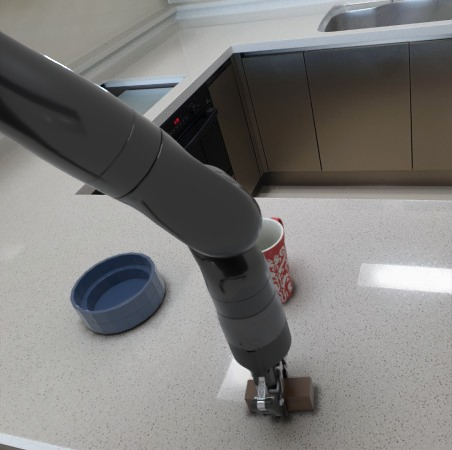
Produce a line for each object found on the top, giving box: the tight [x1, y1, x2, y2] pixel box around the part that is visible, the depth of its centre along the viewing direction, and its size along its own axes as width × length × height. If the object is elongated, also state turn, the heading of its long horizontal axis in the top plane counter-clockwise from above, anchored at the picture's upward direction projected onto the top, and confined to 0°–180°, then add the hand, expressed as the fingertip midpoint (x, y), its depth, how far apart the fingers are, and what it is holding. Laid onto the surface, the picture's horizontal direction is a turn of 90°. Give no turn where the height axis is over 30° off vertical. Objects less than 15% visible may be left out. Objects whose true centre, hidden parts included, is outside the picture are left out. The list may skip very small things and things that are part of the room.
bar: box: [244, 376, 315, 413], centre depth 64 cm, size 9×3×3 cm, turn 86°
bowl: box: [69, 251, 166, 335], centre depth 85 cm, size 15×15×6 cm
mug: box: [256, 216, 294, 305], centre depth 79 cm, size 13×9×14 cm
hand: (282, 400), depth 65 cm, fingers open, 3 cm apart
